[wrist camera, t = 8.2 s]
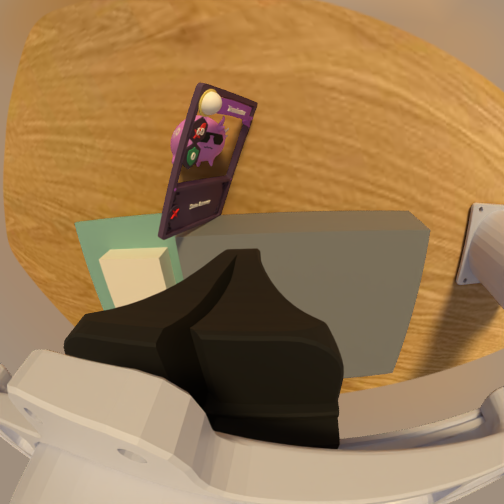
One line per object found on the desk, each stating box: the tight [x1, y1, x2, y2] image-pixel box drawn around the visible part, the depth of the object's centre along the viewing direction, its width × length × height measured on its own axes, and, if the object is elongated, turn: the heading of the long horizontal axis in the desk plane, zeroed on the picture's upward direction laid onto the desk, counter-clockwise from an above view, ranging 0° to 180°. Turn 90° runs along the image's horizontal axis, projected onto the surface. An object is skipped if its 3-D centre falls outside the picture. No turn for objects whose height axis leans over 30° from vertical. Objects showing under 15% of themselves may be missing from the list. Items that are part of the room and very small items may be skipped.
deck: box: [175, 211, 430, 378], centre depth 22 cm, size 17×14×4 cm
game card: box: [158, 83, 257, 240], centre depth 17 cm, size 7×5×9 cm
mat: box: [75, 213, 184, 310], centre depth 26 cm, size 11×15×1 cm
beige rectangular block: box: [99, 247, 176, 308], centre depth 24 cm, size 6×9×2 cm, turn 4°
